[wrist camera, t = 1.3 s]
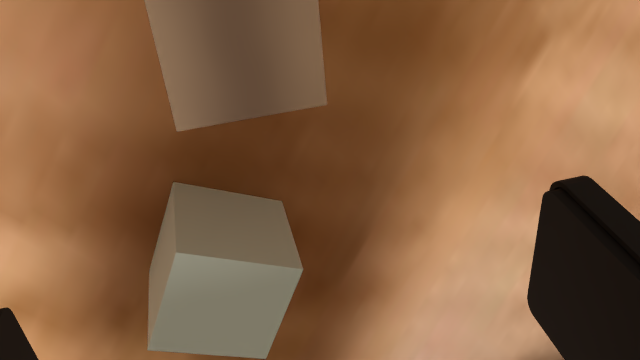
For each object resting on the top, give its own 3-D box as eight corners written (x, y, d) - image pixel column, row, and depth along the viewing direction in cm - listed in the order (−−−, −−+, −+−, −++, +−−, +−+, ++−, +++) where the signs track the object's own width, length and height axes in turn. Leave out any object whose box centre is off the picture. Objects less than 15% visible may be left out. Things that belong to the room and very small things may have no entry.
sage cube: (281, 200, 33) (303, 269, 28) (251, 282, 35) (265, 358, 31) (173, 180, 31) (175, 252, 26) (149, 269, 33) (147, 350, 28)
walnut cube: (283, -80, 25) (313, -53, 20) (298, 53, 29) (327, 104, 24) (141, -61, 24) (137, -28, 20) (173, 74, 28) (176, 131, 23)
